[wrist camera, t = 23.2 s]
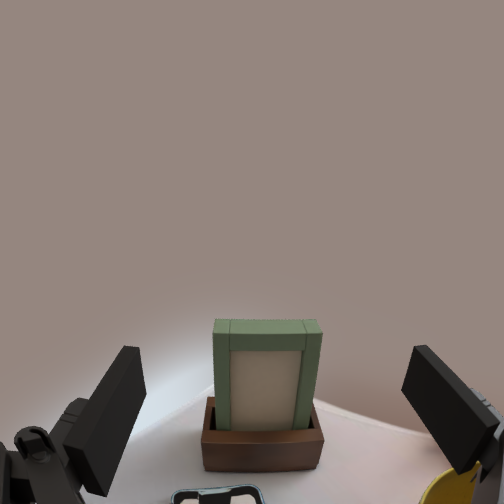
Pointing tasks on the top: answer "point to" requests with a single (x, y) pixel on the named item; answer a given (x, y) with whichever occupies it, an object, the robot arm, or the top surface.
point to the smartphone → (219, 495)
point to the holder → (260, 447)
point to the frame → (265, 373)
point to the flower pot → (451, 488)
